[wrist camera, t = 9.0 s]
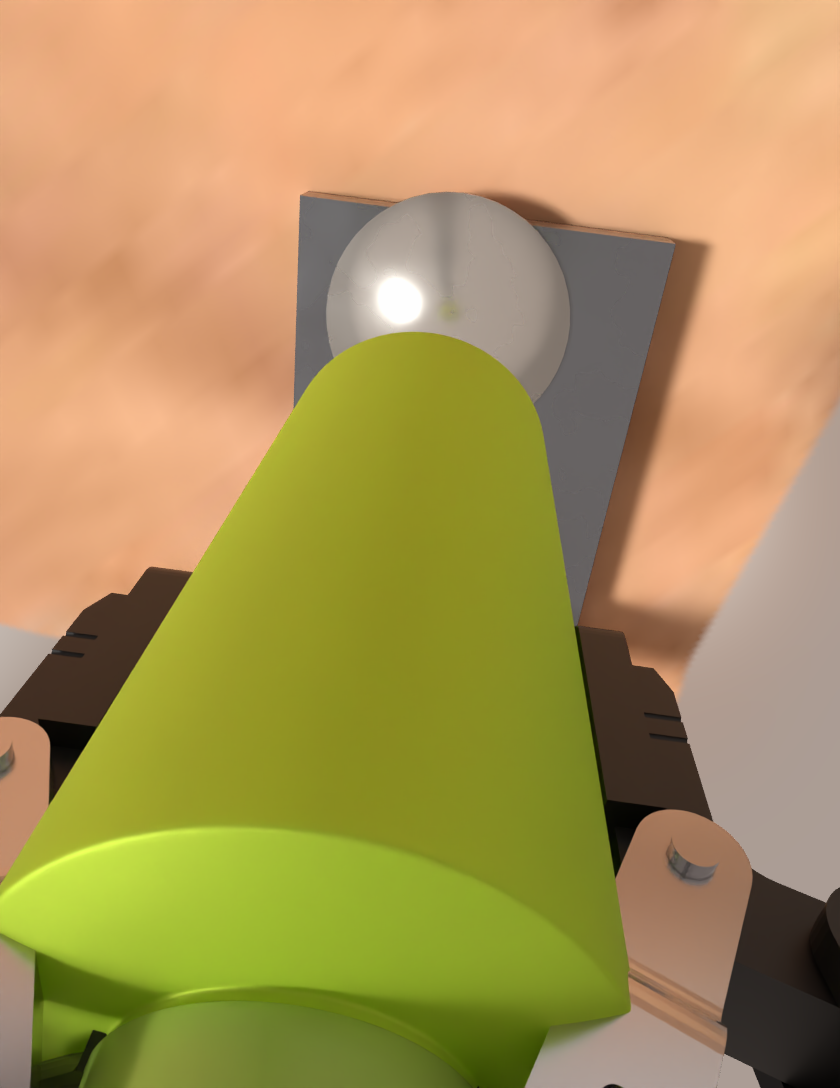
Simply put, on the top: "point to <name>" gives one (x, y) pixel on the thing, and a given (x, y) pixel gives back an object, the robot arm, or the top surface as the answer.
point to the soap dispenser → (344, 771)
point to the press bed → (497, 320)
